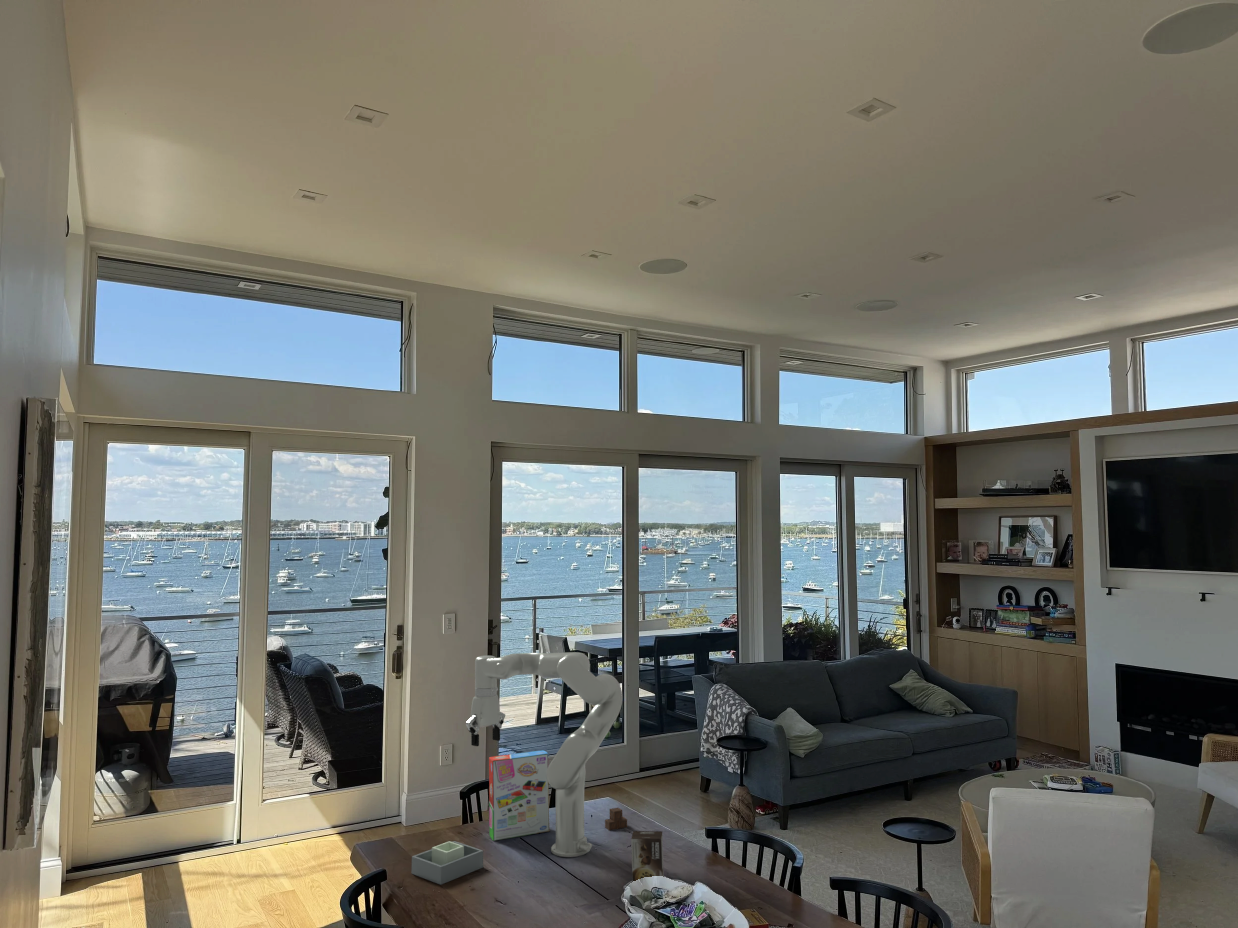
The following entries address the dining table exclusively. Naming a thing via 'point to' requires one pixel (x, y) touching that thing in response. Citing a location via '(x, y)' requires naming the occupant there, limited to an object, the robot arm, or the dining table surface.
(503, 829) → the game box
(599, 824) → the dining table surface
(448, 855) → the small crate
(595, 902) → the dining table surface
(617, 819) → the stack of crates
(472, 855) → the big crate
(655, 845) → the food package box
